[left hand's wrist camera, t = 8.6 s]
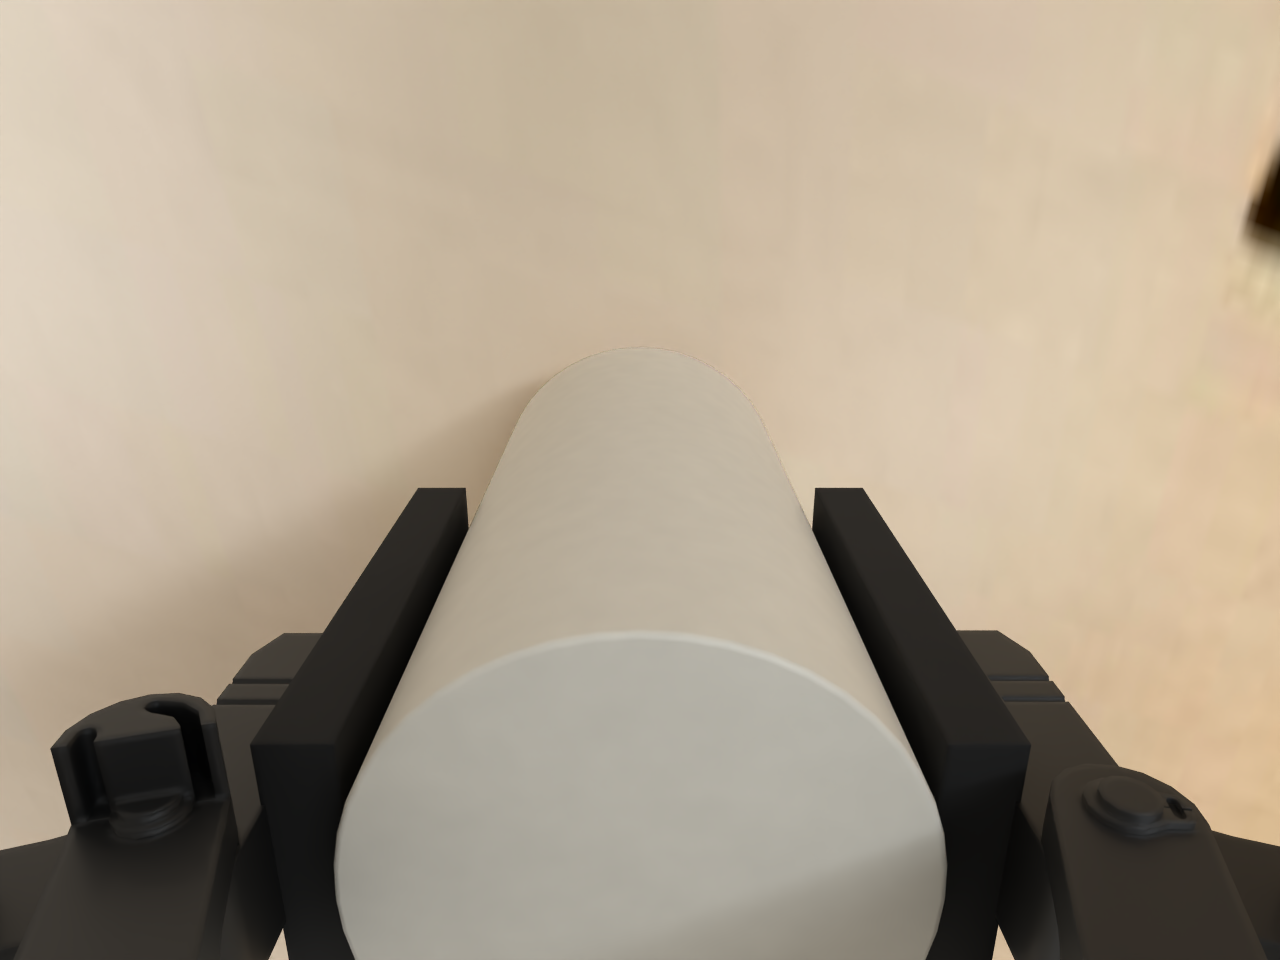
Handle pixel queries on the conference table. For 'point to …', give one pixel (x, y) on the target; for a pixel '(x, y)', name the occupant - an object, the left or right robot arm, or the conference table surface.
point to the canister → (640, 712)
